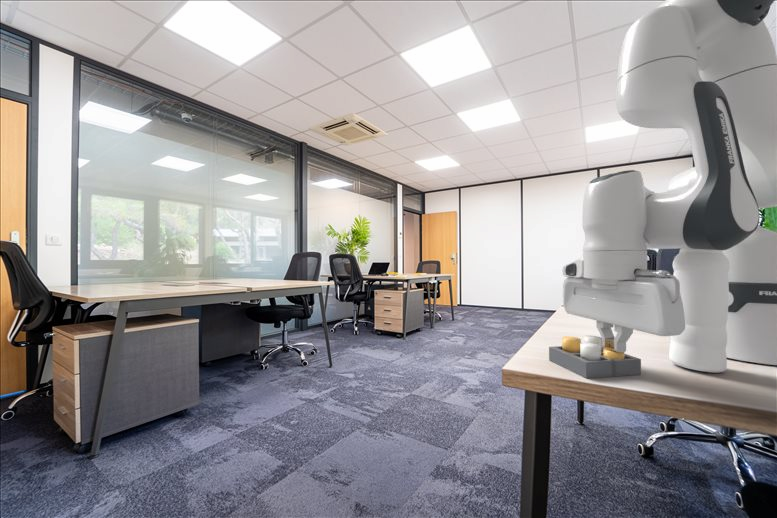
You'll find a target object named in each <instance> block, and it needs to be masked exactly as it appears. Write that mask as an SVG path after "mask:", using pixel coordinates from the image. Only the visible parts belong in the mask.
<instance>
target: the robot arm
mask: <svg viewBox="0 0 777 518" xmlns="http://www.w3.org/2000/svg"><path fill="white" fill-rule="evenodd" d="M775 1H776V0H664V1H662V3H660V4H659V5H658V6H657V7H655V8H653V9H652V10H650V11H648V12H645V13H644V14H643V15H641V16H640V17H639V18H638V19H636V20H635V21H634V22H633V23H632V24H631V26H629V28H628V30H627V31H626V33H625V35H624V38H623V42H622V44H621V45H622V46H621V48H620V53H619V59H618V65H617V73H616V86H615V87H616V88H615V89H616V91H615V104H616V106H615V107H616V110H617V113H618V115H619V116H620V117H621V118H622V120H623V121H625V122H626V123H628V124H630V125H633V126H635V127H640V128H646V129H682V130H684V131H685V132H686V133H687V135H688V139H689V143H690V149H691V153H692V158H693V163H694V166H693V167H691V168H688V169H686V170H684V171H682V172H680V173H678V174H677V173H676V175H674V176H673V177H672V178H671V180H670V181H669V183H668V185H667V189H666V191H663V192H656V193H655V191H652V190H650V189H648V188H647V187H646V186H645V185H644V178H643V175H642V173H641V171H640V170H635V169H628V170H622V171H617V172H614V173H613V172H612V173H607V174H605V175H602V176H597V177H595V178H592V180H590V181H589V182H588V183H587V185H586V187H585V190H584V196H583V202H582V230H583V233H584V238H585V241H584V244H583V247H582V257H580V258H578V259H575V260H574V261H572V262H569V263H567V264H565V265H563V266H562V275H563V276H564V277H565V279H564V281H563V283H562V303H563V304H562V305H563V308H564V311H565V312H566V313H567V314H569V315H572V316H577V317H581V318H584V319H588V320H593V321H596V328H597V331H598V332H599V335H600V337H601V338H602V343H603V347H604V348H606V349H610V350H612V351H615V352H618V353H622V352H624V353H626V352H627V342H628V341H629V340H630V338H631V336H632V335H633V333H634V330H635V331H638V332H642V333H647V334H651V335H655V336H658V337H659V336H660V337H670V336H677V335H680V334H681V333H682V332H683V331H684V330H685V315H684V308H683V303H682V298H681V294H680V282H679V280H678V279H677V278H676V277H675V276H673V274H672V273H670V272H669V271H668V270H664V269H657V270H653V269H648V249H649V250H651V249H653V250H654V249H657V250H666V249H667V250H672V249H676V250H677V249H681V248H692V249H705V250H722V251H723V254H724V255H725V256H726V258H727V259H728V261H729V263H730V269H729V271H728V272H727V273H728V282H729V303H728V317H727V323H726V330H727V345H726V356H727V359H732V360H737V361H742V362H750V363H754V364H755V363H756V364H762V365H771V366H777V231H774V230H771V229H768V228H764V227H761V226H760V225H759V223H760V219H761V218H760V209H768V208H775V207H777V53H776V49H775V45H774V41H773V38H772V36H771V34H770V31H769V29H768V27H767V25H766V23H765V21H764V19H765V18H766V17H767V16H768V14H769V11H770V8H771V6H772V4H774V3H775ZM612 328H614V329H613V330H614V332H615V333H616V335H615V336H614V332H613V330H612Z"/></svg>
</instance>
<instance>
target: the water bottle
mask: <svg viewBox="0 0 777 518" xmlns="http://www.w3.org/2000/svg"><path fill="white" fill-rule="evenodd" d="M672 269H673V274H672V275H673V276H675V277H676V278H677V279H678V280H679V282H680V294H681V298H682V303H683V308H684V315H685V330H684V331H683V332H682V333H681V334H680V335H677V336H669V337H670V344H669V350H668V353H669V354H668V358H669V361H670V362H671V363H672V364H674V365H676V366H679V367H682V368H685V369H689V370H692V371H698V372H704V373H713V374H714V373H717V374H718V373H722V372H723V373H724V372H725V371H727V364H728V363H727V362H728V358H727V356H726V345H727V330H726V323H727V317H728V303H729V282H728V273H727V272H728V271H729V269H730V263H729V261H728V259H727V258H726V256H725V255H724V254H723V251H722V250H705V249H692V248H679V251H678V253H677V254H676V255H675V257H674V259H673V261H672Z"/></svg>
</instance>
